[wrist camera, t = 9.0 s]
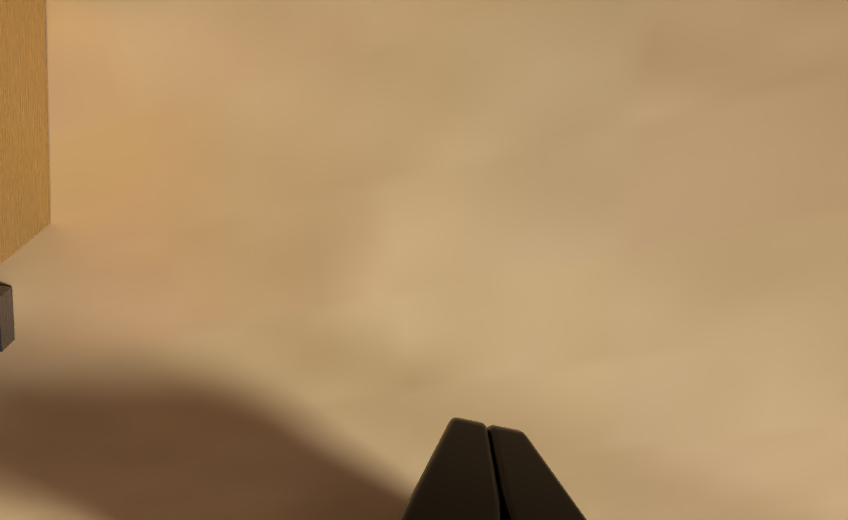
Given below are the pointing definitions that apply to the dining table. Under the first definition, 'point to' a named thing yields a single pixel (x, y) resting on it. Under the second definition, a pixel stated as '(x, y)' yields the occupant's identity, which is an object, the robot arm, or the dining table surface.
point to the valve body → (21, 137)
